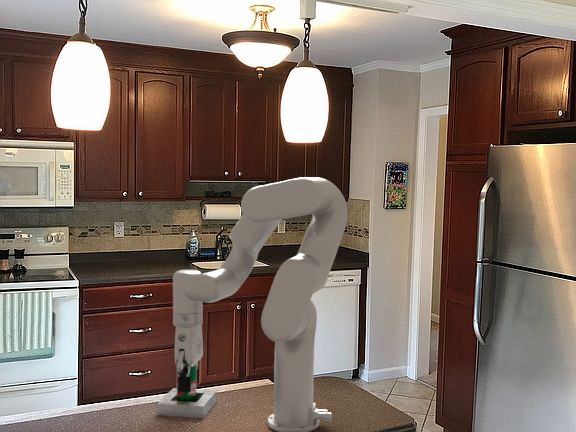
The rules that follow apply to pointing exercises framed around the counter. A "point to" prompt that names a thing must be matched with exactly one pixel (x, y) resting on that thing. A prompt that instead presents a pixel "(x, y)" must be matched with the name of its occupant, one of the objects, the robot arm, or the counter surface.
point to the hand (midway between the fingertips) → (188, 387)
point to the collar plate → (187, 404)
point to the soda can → (192, 394)
